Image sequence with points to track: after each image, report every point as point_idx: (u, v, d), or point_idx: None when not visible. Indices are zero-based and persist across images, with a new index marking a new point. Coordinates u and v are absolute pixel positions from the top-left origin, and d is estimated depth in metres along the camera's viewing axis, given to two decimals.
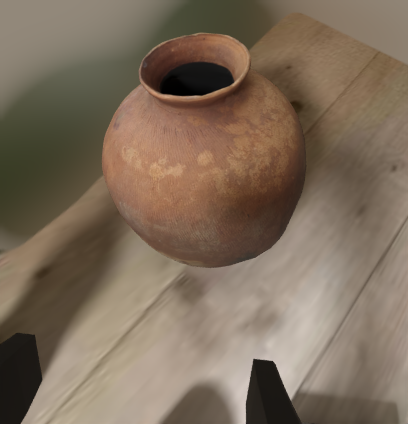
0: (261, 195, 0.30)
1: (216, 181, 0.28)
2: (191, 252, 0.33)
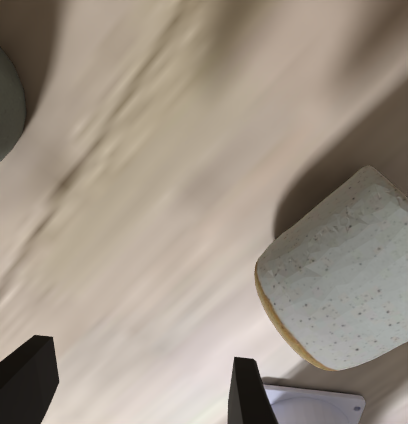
0: None
1: None
2: None
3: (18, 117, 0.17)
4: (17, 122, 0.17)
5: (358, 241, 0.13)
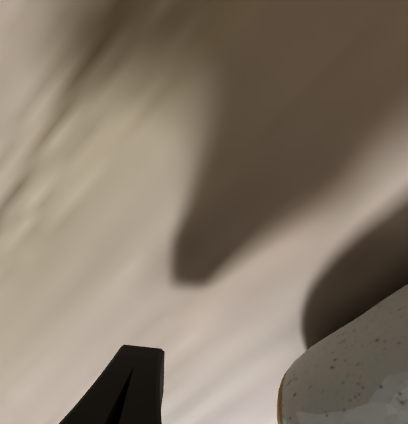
0: None
1: None
2: None
3: None
4: None
5: None
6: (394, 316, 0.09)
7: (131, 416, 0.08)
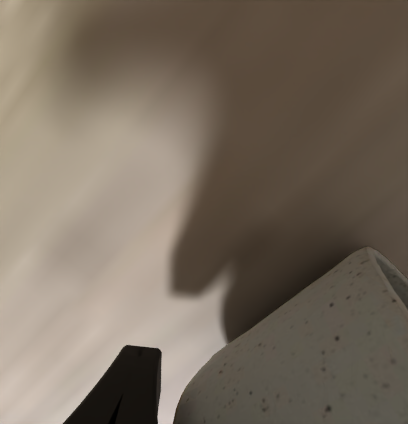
0: None
1: None
2: None
3: None
4: None
5: None
6: (279, 320, 0.09)
7: (127, 415, 0.08)
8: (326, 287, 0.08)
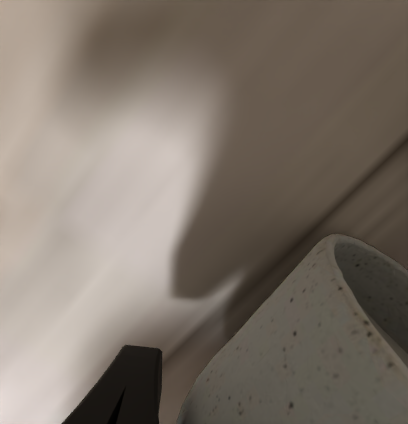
0: None
1: None
2: None
3: None
4: None
5: None
6: (253, 321, 0.09)
7: (128, 416, 0.08)
8: (290, 282, 0.08)
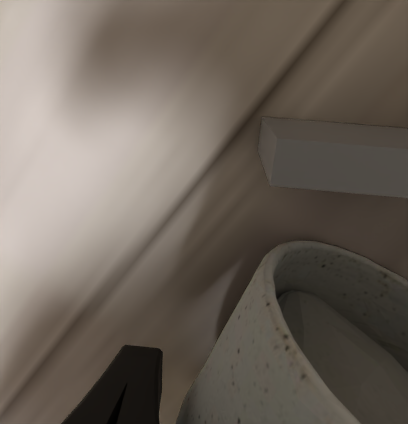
0: None
1: None
2: None
3: None
4: None
5: None
6: (219, 338, 0.09)
7: (129, 416, 0.08)
8: (242, 298, 0.09)
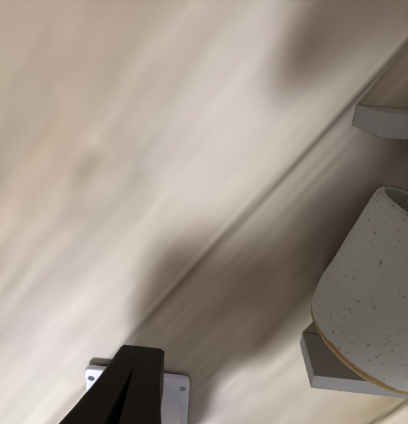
0: None
1: None
2: None
3: None
4: None
5: (393, 275, 0.14)
6: (347, 240, 0.17)
7: (131, 416, 0.08)
8: (364, 214, 0.16)
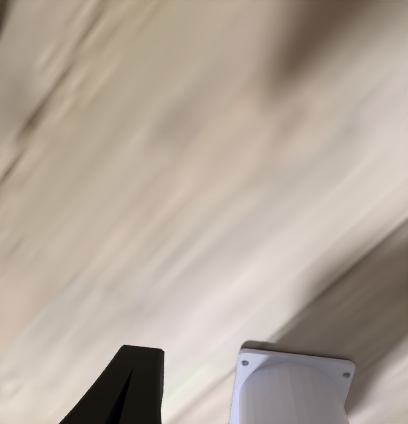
0: None
1: None
2: None
3: None
4: None
5: None
6: None
7: (131, 416, 0.08)
8: None
